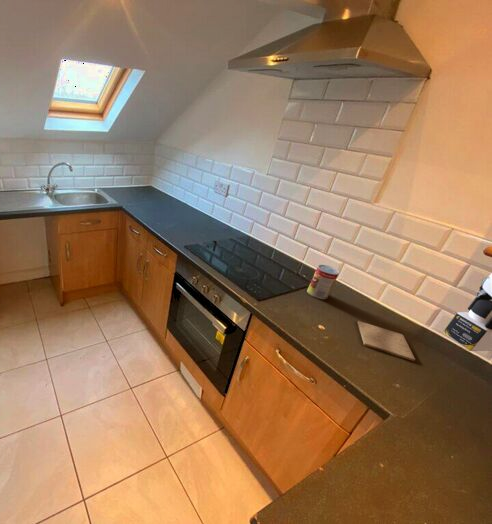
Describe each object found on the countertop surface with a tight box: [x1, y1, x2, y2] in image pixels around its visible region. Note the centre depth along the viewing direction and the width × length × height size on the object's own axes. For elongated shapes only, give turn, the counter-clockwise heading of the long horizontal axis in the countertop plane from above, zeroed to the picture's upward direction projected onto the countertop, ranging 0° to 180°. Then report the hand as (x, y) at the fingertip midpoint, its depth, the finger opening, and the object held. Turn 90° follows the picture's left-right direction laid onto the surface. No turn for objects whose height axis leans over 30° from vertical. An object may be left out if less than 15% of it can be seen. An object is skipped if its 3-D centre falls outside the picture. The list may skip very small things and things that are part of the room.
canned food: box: [306, 264, 340, 300], centre depth 125 cm, size 8×8×12 cm
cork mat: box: [357, 320, 416, 362], centre depth 103 cm, size 14×14×1 cm
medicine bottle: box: [442, 300, 492, 352], centre depth 77 cm, size 7×7×12 cm
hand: (483, 319), depth 76 cm, fingers closed on medicine bottle, 7 cm apart
